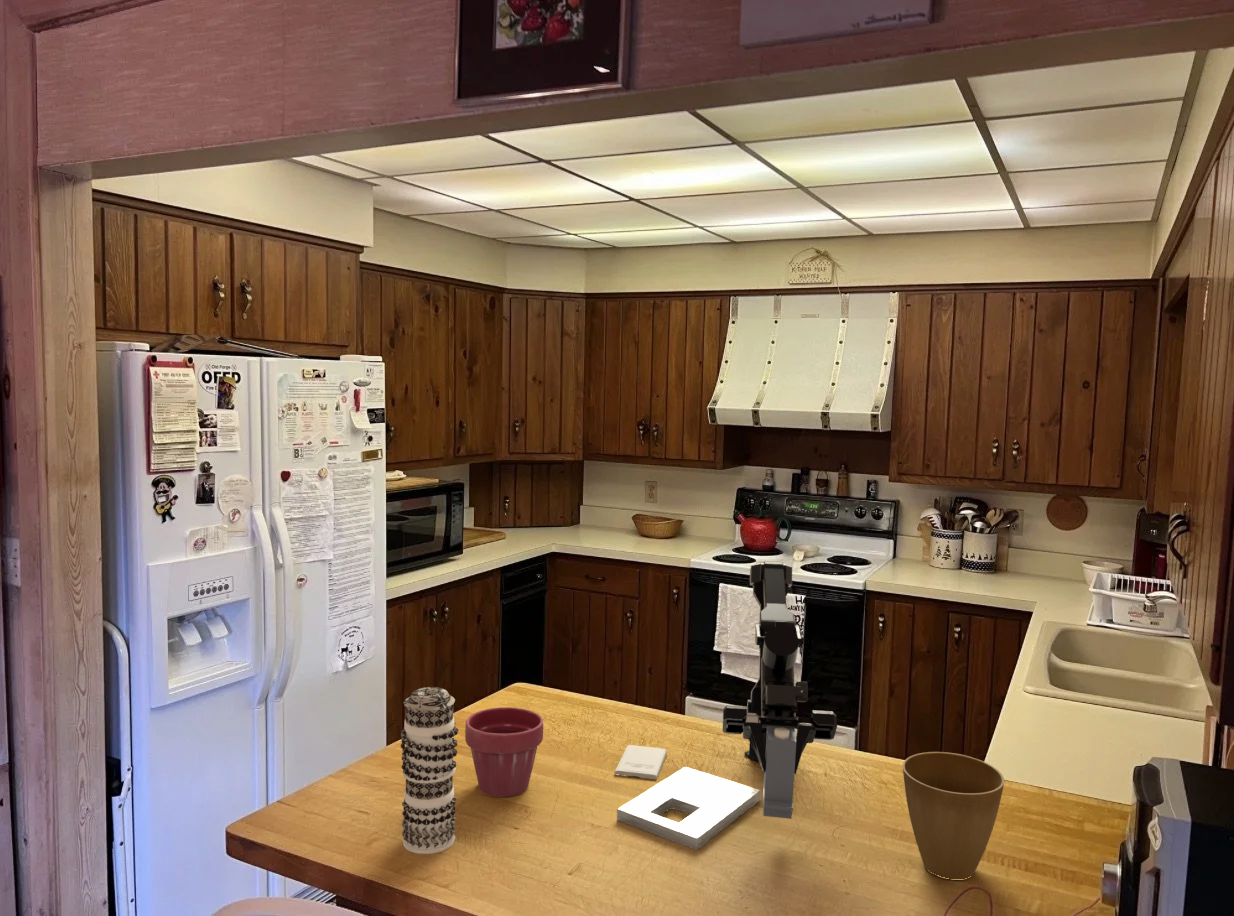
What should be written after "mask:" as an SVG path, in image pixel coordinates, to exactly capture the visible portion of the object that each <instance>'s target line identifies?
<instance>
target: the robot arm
mask: <svg viewBox="0 0 1234 916" xmlns="http://www.w3.org/2000/svg"><path fill="white" fill-rule="evenodd" d="M792 585H793V567H792V566H789V565H787V564H786V563H784V562H781V561H763V562H760V563H756V564H754V565H750V569H749V586H752V594H753V597H754V598H755V600H756V602H757V604H758V605H759V619H758V620H759V622H757V623H755V630H754V631H755V632H754V633H755V634H754V636H755V637H754V638H755V641H754V642H755V645H756V646H758V648H759V650H758V651H759V652H758V653H759V654H758V655H759V656H758V662H759V663H758V680H757V682H756V683H755V685H754V686H753V688H752V689H751V691H750V699H747V702H746V703H747V705H746V706H745V705H744V706H743V705H733V704H732V705H731V704H726V706H724V708H723V712H722V733H724V734H727V735H728V734H730V735H731V734H732V735H742V738H743V740H748V741H749V744H748V745H749V747H748V748H749V750H747V751H743V752H744V754H743V755H745V756H746V757H748V758H750V759H752V760H755V761H757V762H759V765H760V769H761V770H762V772H763V773H764V772H766V758H765V752H766V735H767V726H775V727H786V728H794V729H796V734H795V736H796V755H795V771H794V775H797V772H798V768H799V765H800V761H801V758H802V755H803V753H804V750H805V749H806V746H807V745H808V744H812V743H814V740H823V741H824V740H829V741H831V740H834V739H835V735H836V732H837V729H838V718H837V717H838V716H837V714H835V712H834V711H831V710H830V711H829V710H817V709H816V710H814V709H813V710H811V715H810V717H806V716H805V717H804V716H796V714H797V713H798V703H806V702H808V701H809V699H808V697H809V690H808V681H799V680H798V681H796V682H795V664H796V662H797V656H798V651H799V648H801V645H804V642H805V641H804V638H805V637H804V635H803V633H802V631H801V630H800V626H799V625H798V624H797V625H796V619H795V615H794V613H793V612H792V611H791V610H789V609H788V608H787V596H788V594H789V588H791V587H792Z"/></svg>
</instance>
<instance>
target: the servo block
mask: <svg viewBox="0 0 1234 916" xmlns="http://www.w3.org/2000/svg"><path fill="white" fill-rule="evenodd" d="M795 755H796V731H795V729H794V728H786V727H775V726H767V735H766V752H765V758H766V772H763V781H762V784H763V785H762V786H763V790H762V812H763V813H762V814H763V817H769V818H770V817H772V818H778V819H779V818H780V819H788V820H789V819H792V817H793V812H794V787H795V786H794V784H795V774H794V771H795Z"/></svg>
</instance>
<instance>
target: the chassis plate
mask: <svg viewBox="0 0 1234 916" xmlns="http://www.w3.org/2000/svg"><path fill="white" fill-rule="evenodd" d="M760 801H761V789H757V788H755V787H751V786H749V785H748V786H747V785H745V784H742V783H738V782H736V781H732V780H729V779H727V778H724V777H720V776H716V775H713V774H710V773H707V772H704V771H701V770H698V769H694V768H691V767H688V766H684V767H682V768H681V769H679V770H677V771H676V772H674V773H672V774H671V775H670V776H668V777H666V778H664V779H663V780H661V781H660V782H658V783H656V784H654V786H652V787H650V788H648V789H646V790H645V791H644V792H642V793H640V794H639V795H637V796H636V797H634V798H632V799H631V800H629V801H628V802H626V803H624V804H623V805H621V806H619V807H618V808H617V810H616V821H619V822H622V823H623V824H626V825H629V826H631V827H634V828H637V829H639V830H641V831H644V832H647V833H650V834H653V835H656V836H658V837H660V838H663V839H666V840H668V841H671V842H674V843H677V844H679V845H682V846H683V847H684V846H685V847H687V848H690V849H692V850H696V851H698V850H699V849H700V848H701V847H703V846H704V845H705V844H706V843H708V842H709V841H710V840H712V838H713V839H714V837H715V836H717V835H718V834H720V832H721V831H723V830H725V828H727V827H728V826H729V825H730V823H731V824H732V823H733V822H735V821H736V820H737V819H739V818H740V817H741V816H742V815H744V814H745V813H746V812H747V811H748V809H749V808H750V809H752V808H753V807H752V806H755V805H757V804H758V803H759V802H760ZM757 802H758V803H757ZM670 808H671V809H672V808H674V809H673V810H675V809H676V810H675V811H678V810H679V811H678V812H680V811H681V813H683V812H684V814H686V813H687V814H686V815H688V816H687V817H685V818H684V819H683V820H681V821H680V822H678V821H675V820H672V819H669V818H667V817H663V816H662V815H664V814H665V813H666V811H667V810H668V811H669V809H670ZM671 809H670V810H671ZM750 809H749V810H750ZM668 811H667V812H668ZM745 811H746V812H745ZM664 812H665V813H664ZM744 812H745V813H744ZM663 813H664V814H663ZM743 813H744V814H743ZM689 814H690V815H689ZM741 814H742V815H741ZM660 815H661V816H660ZM740 815H741V816H740ZM739 816H740V817H739ZM734 820H735V821H734Z"/></svg>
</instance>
